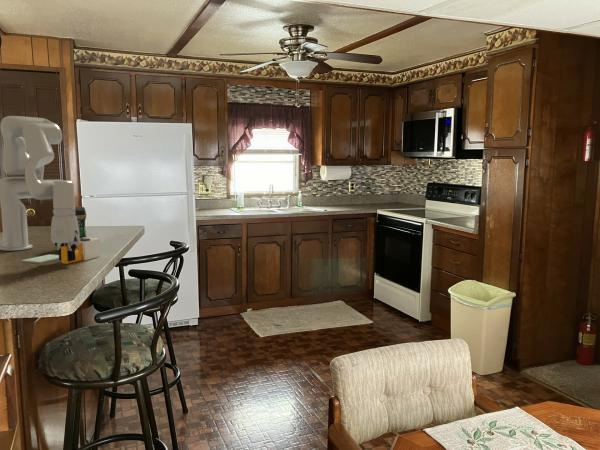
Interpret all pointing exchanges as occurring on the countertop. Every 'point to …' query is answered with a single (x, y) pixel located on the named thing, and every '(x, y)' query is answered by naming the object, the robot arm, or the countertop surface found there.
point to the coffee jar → (80, 221)
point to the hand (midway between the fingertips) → (67, 259)
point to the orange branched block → (65, 254)
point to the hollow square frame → (90, 248)
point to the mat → (42, 259)
